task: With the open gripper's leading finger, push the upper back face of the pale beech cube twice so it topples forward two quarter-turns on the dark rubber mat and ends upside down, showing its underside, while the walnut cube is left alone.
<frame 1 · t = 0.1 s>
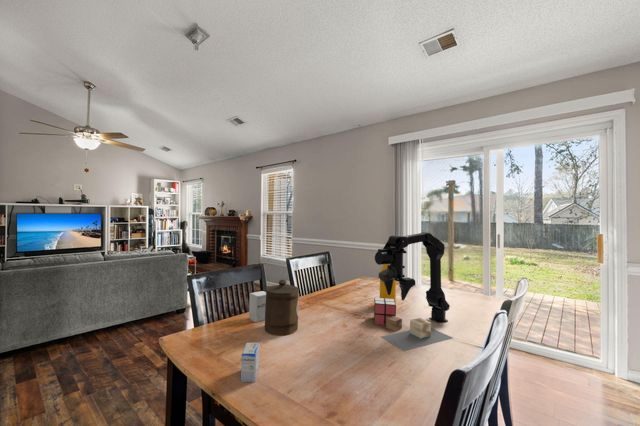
hand: (395, 297, 128), 15 cm above the table, fingers open, 9 cm apart
medicine box: (250, 375, 89), on the table
supplement box: (259, 319, 138), on the table
beech cube: (420, 335, 121), resting on rubber mat
beer bottle: (387, 305, 163), on the table
wooden container: (281, 329, 126), on the table
rubber mat: (416, 338, 119), on the table
walnut cube: (393, 329, 129), on the table
puzzle cube: (384, 321, 138), on the table
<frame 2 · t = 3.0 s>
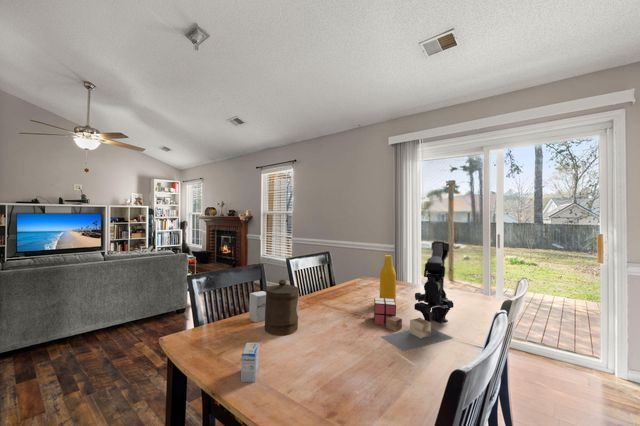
hand: (434, 324, 125), 4 cm above the table, fingers open, 7 cm apart
beech cube: (420, 335, 121), resting on rubber mat, touching gripper
everything else where it was.
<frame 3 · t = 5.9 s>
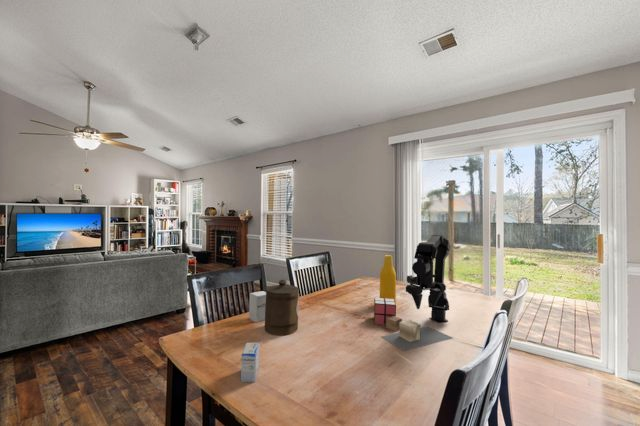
hand: (425, 307, 123), 12 cm above the table, fingers open, 9 cm apart
beech cube: (415, 329, 120), point 3 cm above the table, tilted 90°, touching rubber mat
everything else where it was.
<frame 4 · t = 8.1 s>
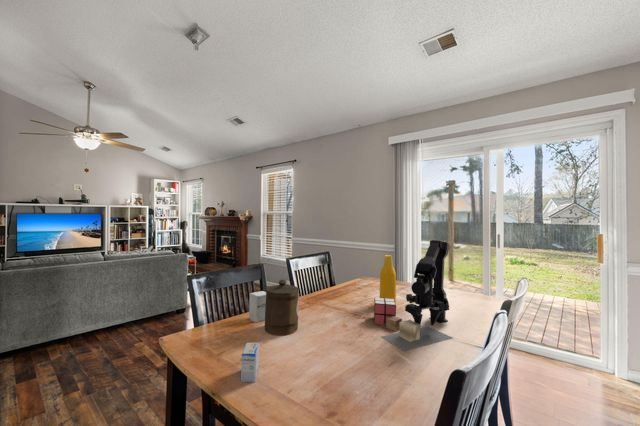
hand: (425, 326, 122), 4 cm above the table, fingers open, 8 cm apart
beech cube: (415, 329, 120), point 3 cm above the table, tilted 90°, touching gripper, rubber mat
everything else where it was.
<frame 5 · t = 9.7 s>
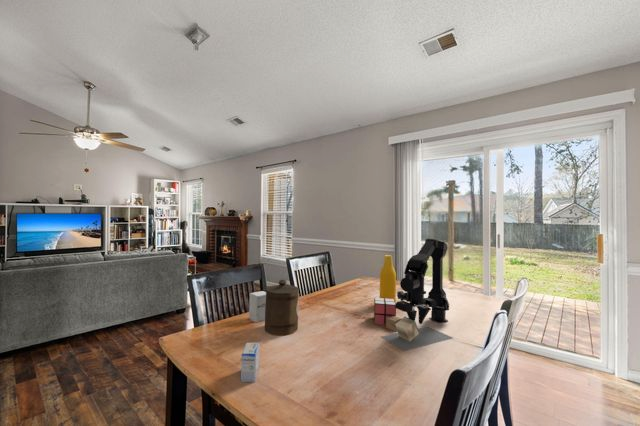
hand: (416, 324, 120), 5 cm above the table, fingers open, 4 cm apart
beech cube: (412, 324, 119), point 6 cm above the table, tilted 116°, touching gripper, rubber mat
everything else where it was.
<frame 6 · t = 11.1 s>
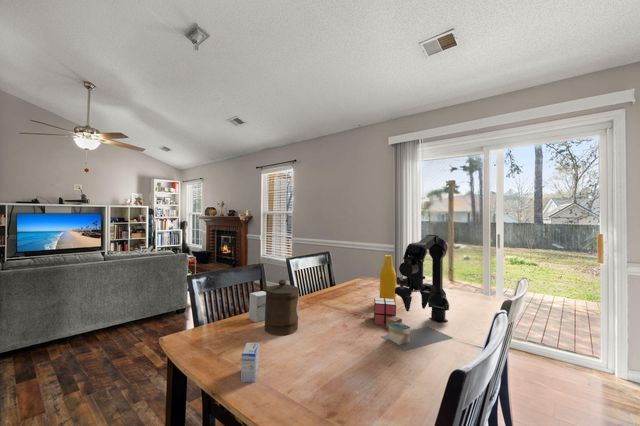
hand: (415, 309, 120), 12 cm above the table, fingers open, 9 cm apart
beech cube: (399, 325, 116), point 6 cm above the table, tilted 180°, touching rubber mat
everything else where it was.
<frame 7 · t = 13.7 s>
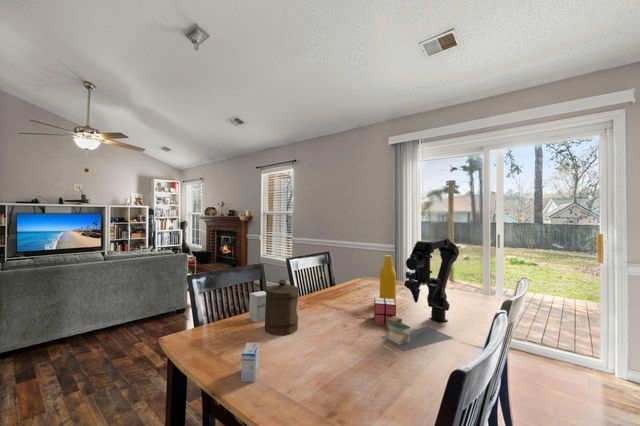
hand: (423, 301, 132), 12 cm above the table, fingers open, 9 cm apart
nothing on the table moved.
at the end: beech cube tilted 180°; beech cube inside the target area (1.0 cm from its centre), point 6.4 cm above the table; walnut cube moved 0.2 cm from its start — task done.
